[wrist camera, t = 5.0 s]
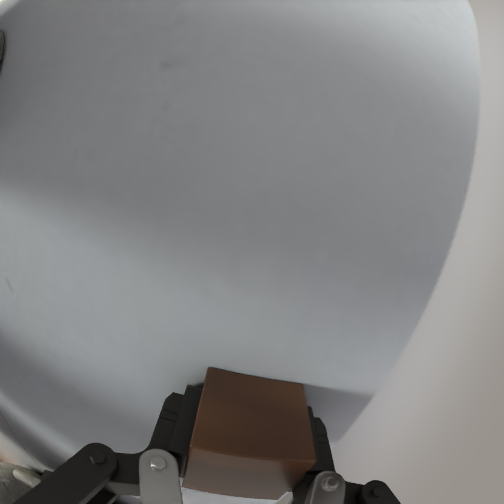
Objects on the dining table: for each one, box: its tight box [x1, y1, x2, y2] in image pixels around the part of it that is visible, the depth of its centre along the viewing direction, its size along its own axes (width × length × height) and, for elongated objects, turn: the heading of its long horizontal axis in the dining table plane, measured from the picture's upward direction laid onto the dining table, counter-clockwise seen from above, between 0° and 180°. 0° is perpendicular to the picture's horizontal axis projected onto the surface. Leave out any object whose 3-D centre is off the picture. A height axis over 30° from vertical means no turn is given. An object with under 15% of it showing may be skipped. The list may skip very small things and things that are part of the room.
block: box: [182, 367, 316, 500], centre depth 9 cm, size 4×4×4 cm
